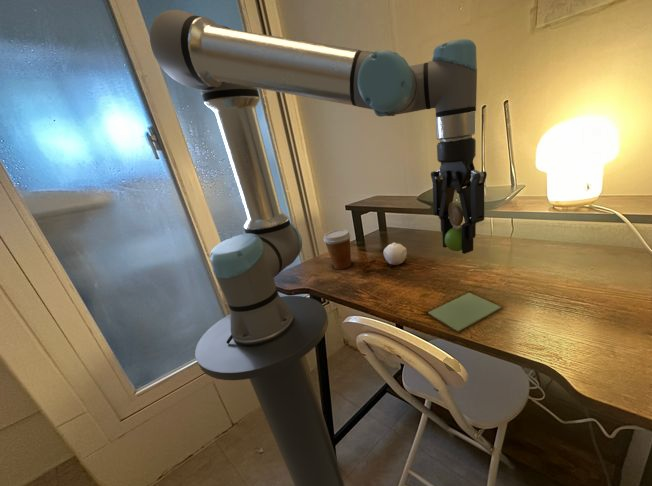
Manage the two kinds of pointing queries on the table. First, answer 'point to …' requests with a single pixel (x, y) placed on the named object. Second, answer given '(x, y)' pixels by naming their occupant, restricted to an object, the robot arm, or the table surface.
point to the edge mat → (464, 311)
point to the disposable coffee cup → (339, 248)
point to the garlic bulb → (395, 253)
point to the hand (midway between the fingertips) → (457, 248)
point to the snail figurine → (455, 234)
